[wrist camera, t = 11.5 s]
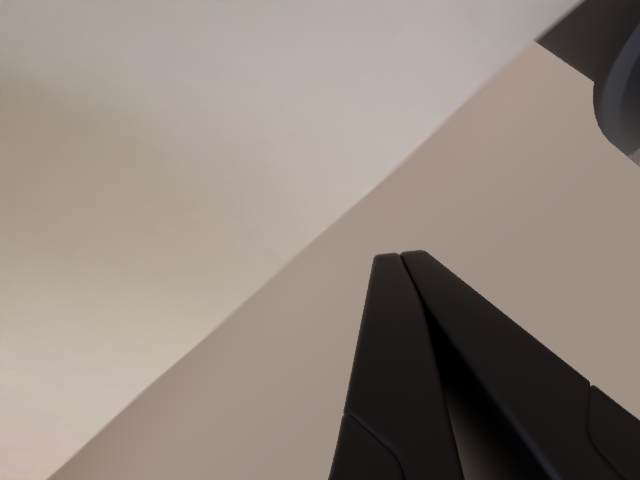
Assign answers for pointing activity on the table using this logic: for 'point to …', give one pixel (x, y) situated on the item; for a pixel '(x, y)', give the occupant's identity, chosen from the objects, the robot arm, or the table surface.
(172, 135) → the table surface
